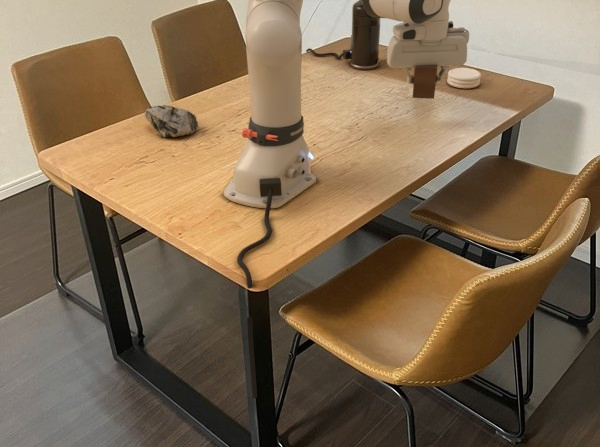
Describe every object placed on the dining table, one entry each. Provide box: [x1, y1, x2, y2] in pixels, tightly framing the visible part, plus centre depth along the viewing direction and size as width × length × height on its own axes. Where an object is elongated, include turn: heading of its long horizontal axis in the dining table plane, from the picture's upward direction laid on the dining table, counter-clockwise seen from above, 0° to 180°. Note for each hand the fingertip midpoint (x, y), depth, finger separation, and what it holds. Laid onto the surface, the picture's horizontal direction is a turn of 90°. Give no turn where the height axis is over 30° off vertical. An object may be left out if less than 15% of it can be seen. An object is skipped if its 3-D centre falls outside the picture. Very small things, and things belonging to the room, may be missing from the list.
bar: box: [412, 65, 438, 100], centre depth 168 cm, size 25×6×8 cm, turn 170°
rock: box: [144, 104, 199, 138], centre depth 165 cm, size 15×10×7 cm
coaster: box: [446, 67, 482, 89], centre depth 192 cm, size 10×10×4 cm
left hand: (424, 82), depth 161 cm, fingers closed on bar, 6 cm apart
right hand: (424, 58), depth 176 cm, fingers closed on bar, 5 cm apart
